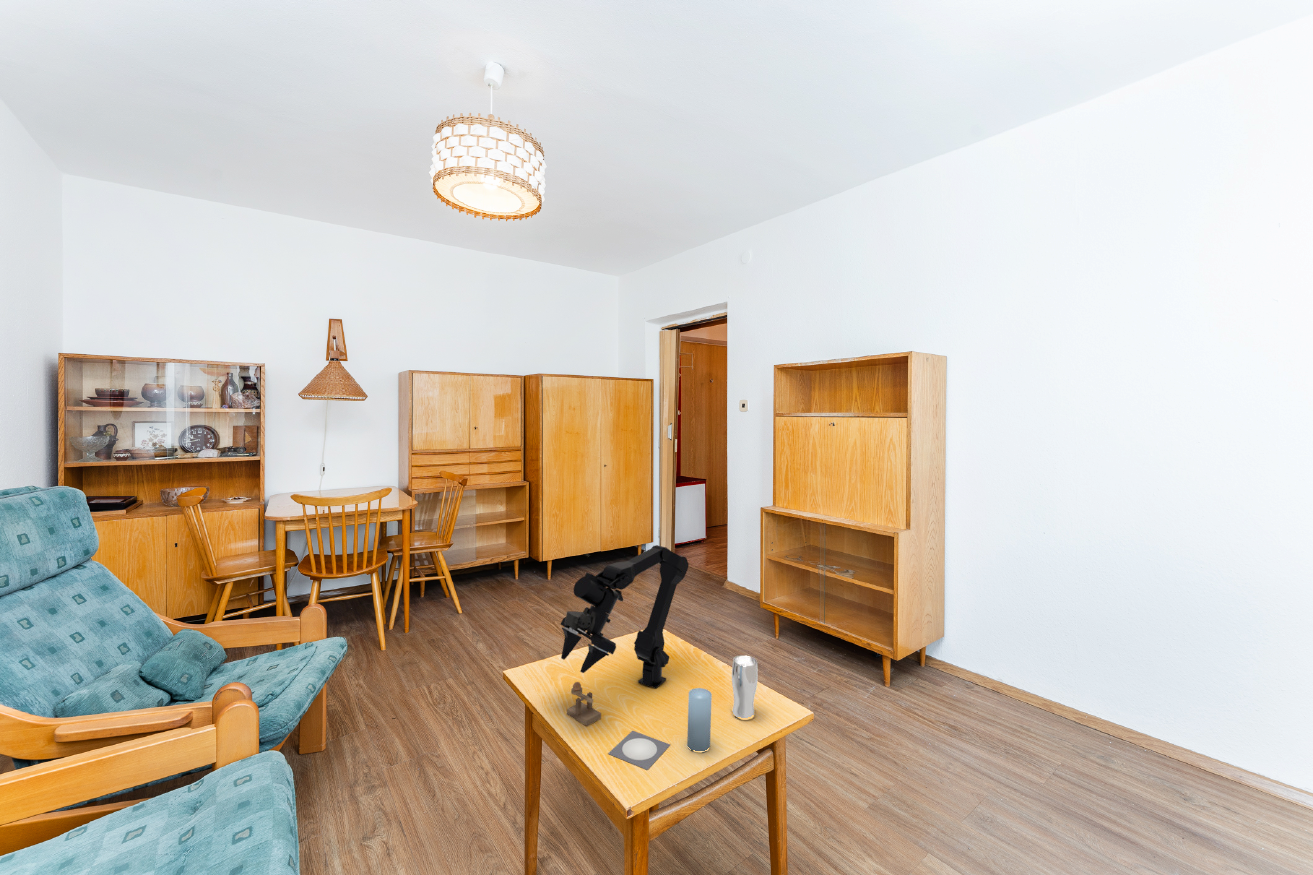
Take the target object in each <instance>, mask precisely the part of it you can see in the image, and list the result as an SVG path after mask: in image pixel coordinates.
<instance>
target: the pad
mask: <svg viewBox="0 0 1313 875" xmlns="http://www.w3.org/2000/svg"><path fill="white" fill-rule="evenodd" d="M670 746H671V743H667V742H664V741H661V740H659V739H657V738H654V737H651V736H649V735H646V734H643V733H640V732H638V731H635V730H631V731H630V732H629V733H628V734H627V735H626V736H625V737H624V738H623V739H622V740H621V741H619V743H618V744H616V746H614V747H613V748H612V749H611V750H610V751H609V752H608V753H607V755H609V756H613V757H615V758H616V759H620V760H622V761H624V762H627V763H629V764H631V765H634V766H637V767H638V768H641V769H643V770H646V771H648V770H649V769H651V767H652V766H653V765H654V763H656V761H658V759H659V758H660V757H661V756H662V755H663V754H664V752H666V750H667V749H668V748H669V747H670Z"/></svg>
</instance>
